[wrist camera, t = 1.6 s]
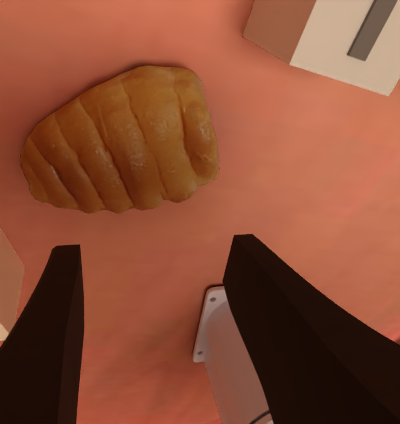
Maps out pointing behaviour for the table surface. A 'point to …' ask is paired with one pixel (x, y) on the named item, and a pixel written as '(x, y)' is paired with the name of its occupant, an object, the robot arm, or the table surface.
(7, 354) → the robot arm
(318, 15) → the marked block grey
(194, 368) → the table surface
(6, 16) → the table surface
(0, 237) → the marked block cream
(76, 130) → the pastry
